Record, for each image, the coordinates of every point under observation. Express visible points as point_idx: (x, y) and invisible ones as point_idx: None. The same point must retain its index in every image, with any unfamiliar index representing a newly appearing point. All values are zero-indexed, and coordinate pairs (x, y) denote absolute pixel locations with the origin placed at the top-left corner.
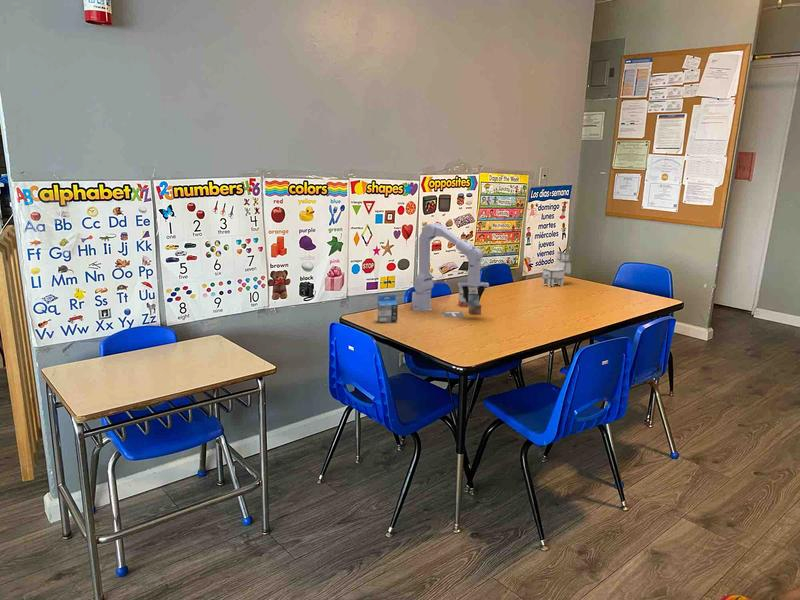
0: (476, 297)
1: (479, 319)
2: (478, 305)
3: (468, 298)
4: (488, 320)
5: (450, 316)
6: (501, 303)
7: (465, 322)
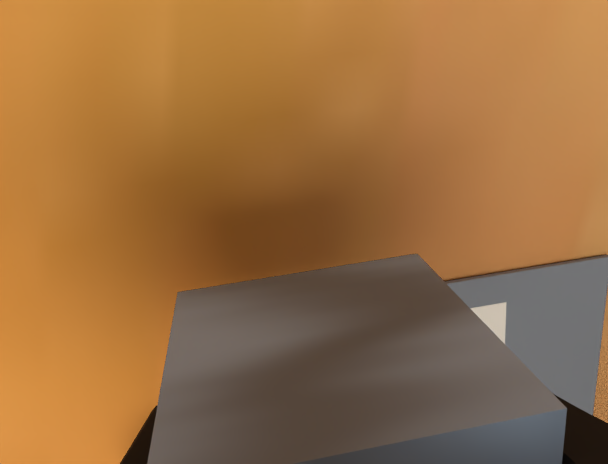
0: (251, 423)
1: (170, 231)
2: (181, 298)
3: (507, 369)
4: (30, 196)
5: (541, 293)
6: None
7: (392, 48)
